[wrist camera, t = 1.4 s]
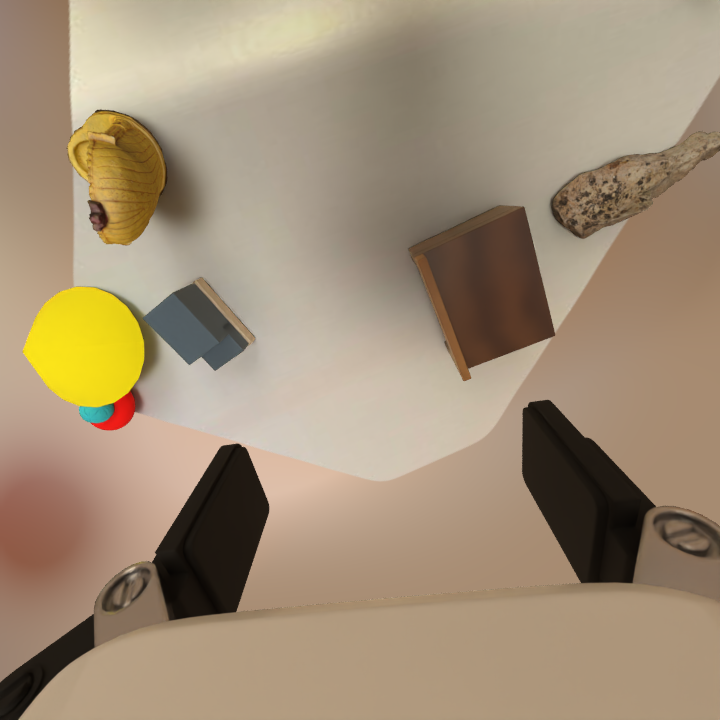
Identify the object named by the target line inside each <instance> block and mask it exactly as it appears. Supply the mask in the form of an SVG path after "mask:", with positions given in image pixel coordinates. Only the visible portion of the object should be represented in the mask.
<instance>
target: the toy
mask: <svg viewBox="0 0 720 720" xmlns="http://www.w3.org/2000/svg"><path fill="white" fill-rule="evenodd" d="M23 353H24V355H25V356H26V357H27V359H28V360H29V362H30V363H31V364H32V366H33V367H34V369H35V370H36V371H37V373H38V374H39V375H40V377H41V378H42V380H43V381H44V382H45V384H46V385H47V386H48V388H49V389H51V390H52V391H53V392H54V393H55V394H57V395H58V396H59V397H60V398H62V399H63V400H65V401H68V402H70V403H73V404H76V405H78V406H80V407H79V411H80V415H81V417H82V418H83V419H84V420H85V421H87V422H90V423H91V424H92V425H94V426H95V427H97V428H99V429H102V430H117V429H119V428H122V427H123V426H125V425H126V424H128V423H129V421H130V420H131V419H132V417H133V415H134V412H135V400H134V397H133V395H132V393H131V392H130V390H131V388H132V387H133V386H134V384H135V383H136V381H137V380H138V379H139V376H140V372H141V369H142V366H143V363H144V340H143V337H142V334H141V330H140V327H139V324H138V322H137V320H136V319H135V317H134V316H133V315H132V313H131V312H130V310H129V309H128V307H127V306H126V305H125V304H123V303H122V302H121V301H120V300H118V299H117V298H116V297H115V296H113V295H112V294H110V293H107V292H105V291H102V290H100V289H97V288H94V287H74V288H71V289H68V290H64V291H61V292H59V293H57V294H56V295H55V296H53V297H52V298H51V299H50V300H48V301H47V302H46V303H45V304H44V306H43V307H42V309H41V310H40V312H39V313H38V315H37V316H36V318H35V320H34V323H33V325H32V328H31V331H30V333H29V336H28V339H27V341H26V344H25V347H24V349H23Z"/></svg>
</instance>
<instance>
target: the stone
mask: <svg viewBox="0 0 720 720" xmlns="http://www.w3.org/2000/svg"><path fill="white" fill-rule="evenodd" d="M718 151H720V132H712V133H709V134H707V133H705V132H700V131H699V132H696V133H694V134H692V135H691V136H689V138H688V139H686V140H685V141H684V142H683V143H681V144H680V145H678V146H676V147H673V148H671V149H669V150H666V151H663V152H661V153H658V154H656V153H655V154H654V153H649V154H646V155H641V156H640V155H639V154H636V155H629V156H625V157H622V158H619V159H618V160H616V161H615V162H612V163H610V164H608V165H606V166H604V167H601V168H600V169H597V170H595V171H590V172H585V173H582V174H580V175H579V176H578V177H577V178H576V179H574V180H573V181H572V182H571V183H568V184H567V185H566V186H565V187H564V188H563V189H562V190H561V191H560V192H559V193H558V194H557V195H556V196H555V198H554V200H553V205H552V207H553V212H554V216H555V217H556V219H557V220H558V221H559V222H560V223H561V224H562V225H563V226H564V227H566V228H568V229H569V230H571V231H572V232H573V233H574V234H575V235H577V236H578V237H580V238H582V239H584V238H586V237H588V236H590V235H591V234H593V233H594V232H596V231H598V230H600V229H601V228H603V227H606V226H611V225H614V224H616V223H618V222H621V221H623V220H625V219H627V218H630V217H632V216H634V215H636V214H638V213H641V212H642V211H645V210H647V209H648V208H649V207H650V206H651V205H652V204H653V201H652V199H653V198H656V197H658V196H659V195H661V194H662V193H663V192H665V191H666V190H667V189H668V188H669V187H671V186H672V185H673V184H674V183H675V182H677V181H680V180H681V179H682V178H684V177H685V176H686V175H687V174H688V173H689V171H690V170H692V169H694V168H695V166H696V165H697V164H698V163H699V162H700V161H702V160H707V159H708V158H711V157H713V156H714V155H715V154H716V153H717V152H718Z"/></svg>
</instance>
